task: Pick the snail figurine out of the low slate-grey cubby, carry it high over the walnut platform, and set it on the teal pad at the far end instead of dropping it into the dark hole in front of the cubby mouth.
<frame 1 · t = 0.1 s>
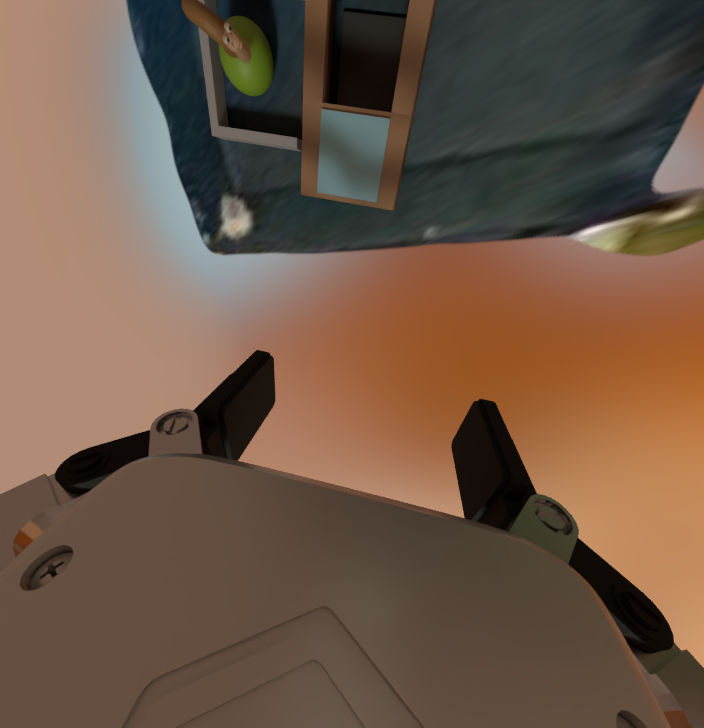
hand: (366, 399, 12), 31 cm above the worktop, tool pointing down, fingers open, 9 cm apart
snail figurine: (264, 73, 29), on the worktop
hole platform: (370, 74, 28), on the worktop
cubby: (263, 72, 29), on the worktop
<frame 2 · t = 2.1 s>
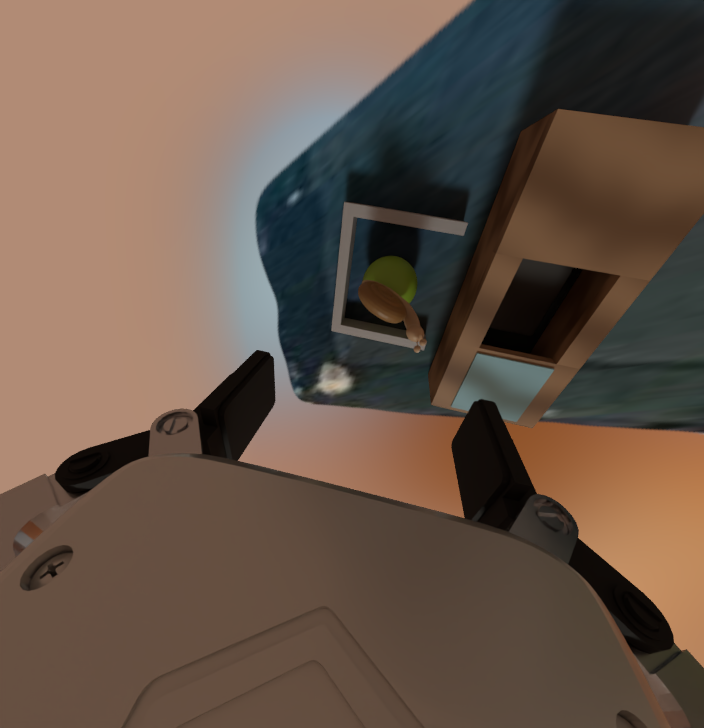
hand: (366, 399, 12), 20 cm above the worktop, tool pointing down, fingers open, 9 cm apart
snail figurine: (394, 280, 28), on the worktop
hole platform: (516, 293, 26), on the worktop
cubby: (394, 280, 28), on the worktop
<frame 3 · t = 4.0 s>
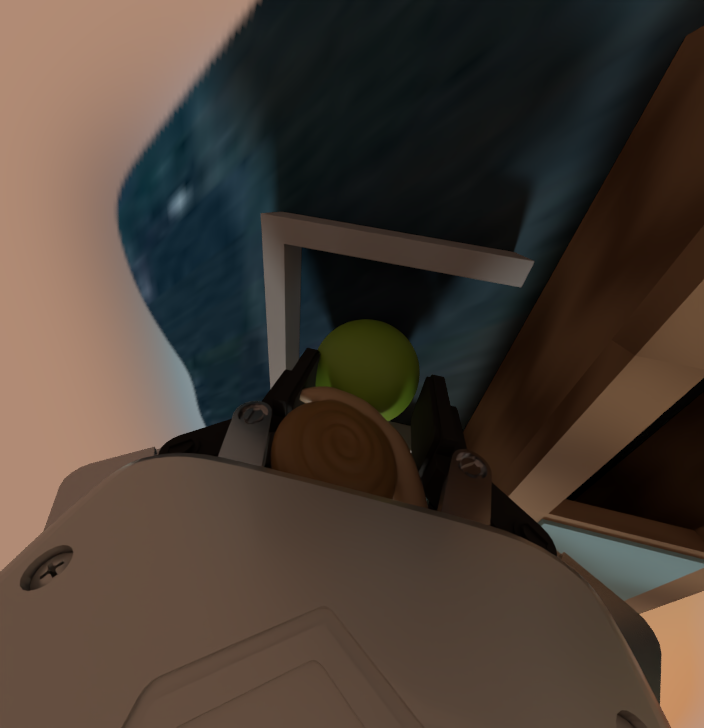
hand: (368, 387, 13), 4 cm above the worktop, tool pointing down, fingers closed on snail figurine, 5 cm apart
snail figurine: (378, 349, 16), on the worktop, touching gripper
hole platform: (604, 382, 14), on the worktop
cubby: (378, 351, 15), on the worktop
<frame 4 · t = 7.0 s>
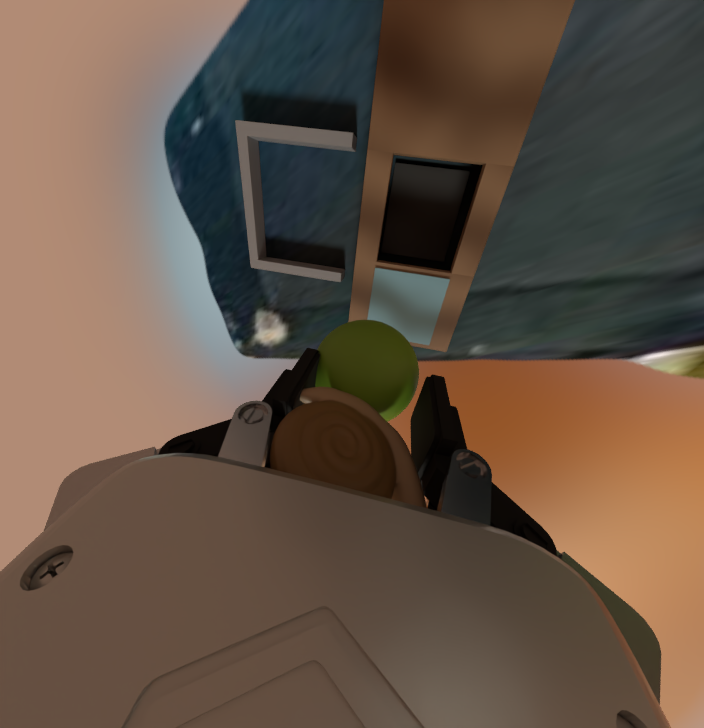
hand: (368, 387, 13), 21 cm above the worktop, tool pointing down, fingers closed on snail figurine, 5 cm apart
snail figurine: (377, 350, 16), point 18 cm above the worktop, touching gripper
hole platform: (421, 215, 26), on the worktop
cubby: (305, 210, 28), on the worktop
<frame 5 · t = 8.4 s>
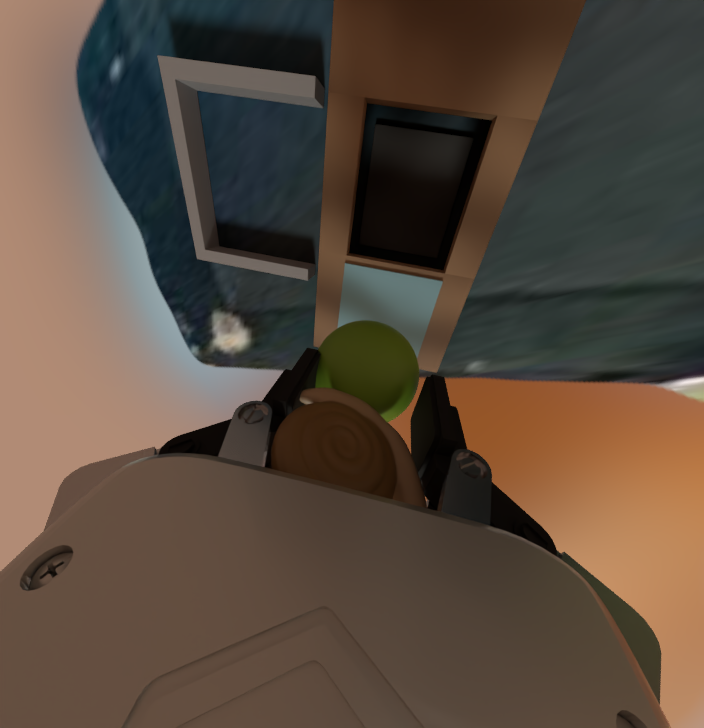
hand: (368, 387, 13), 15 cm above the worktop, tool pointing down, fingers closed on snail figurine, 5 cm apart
snail figurine: (378, 350, 16), point 11 cm above the worktop, touching gripper
hole platform: (409, 197, 20), on the worktop
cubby: (263, 188, 22), on the worktop
when the fingers open (11 cm above the worktop, at t = 9.9 s): snail figurine drops 1 cm, resting on hole platform.
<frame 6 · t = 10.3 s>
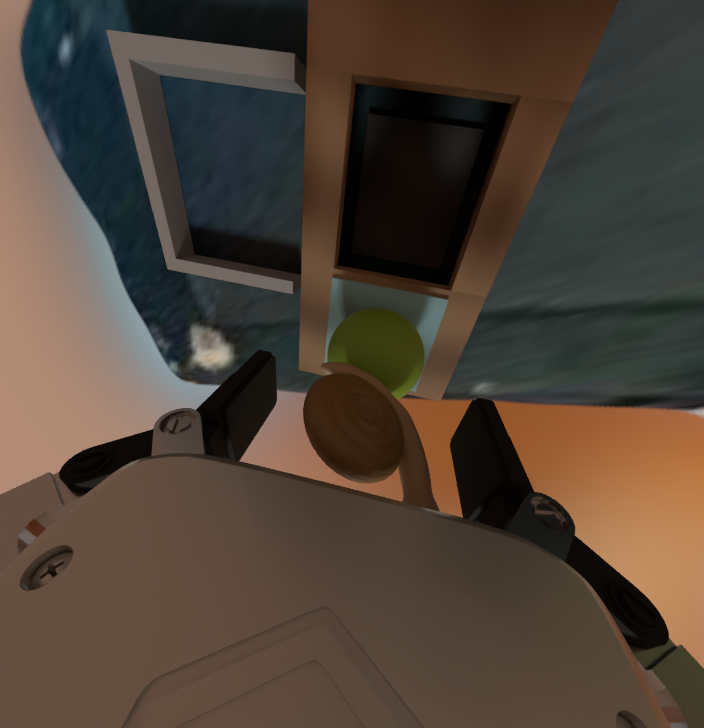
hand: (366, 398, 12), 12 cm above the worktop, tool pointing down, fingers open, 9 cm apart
snail figurine: (385, 338, 17), point 6 cm above the worktop, touching hole platform
hole platform: (408, 200, 18), on the worktop
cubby: (240, 188, 19), on the worktop
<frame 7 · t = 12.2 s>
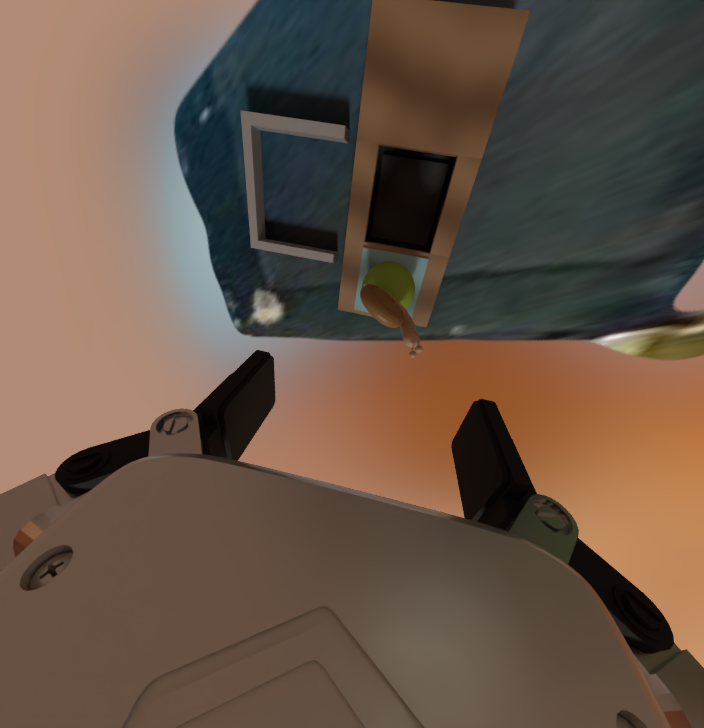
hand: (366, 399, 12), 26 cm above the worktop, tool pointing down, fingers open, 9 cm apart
snail figurine: (392, 285, 29), point 6 cm above the worktop, touching hole platform
hole platform: (406, 203, 29), on the worktop
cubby: (302, 196, 31), on the worktop
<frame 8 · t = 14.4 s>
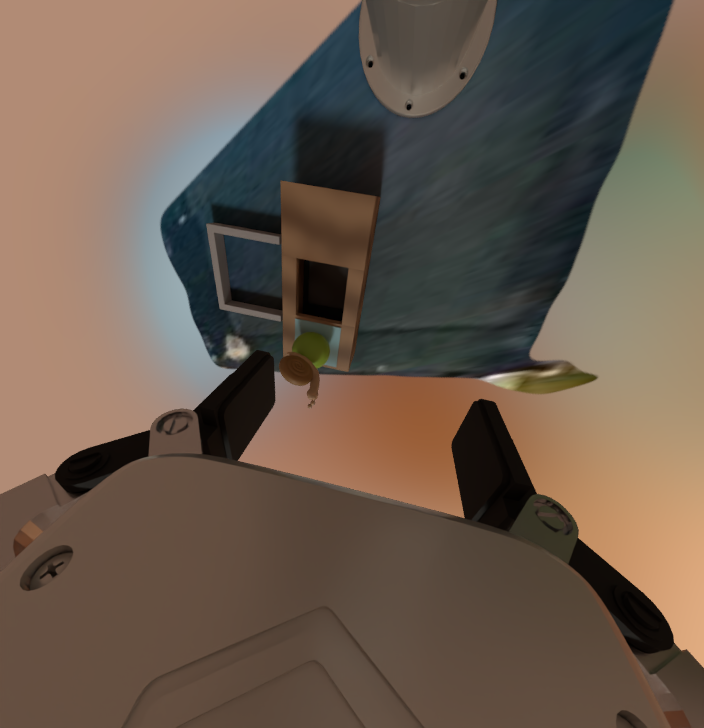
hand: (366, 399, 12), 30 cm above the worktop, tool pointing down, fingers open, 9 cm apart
snail figurine: (319, 343, 39), point 6 cm above the worktop, touching hole platform
hole platform: (331, 282, 40), on the worktop
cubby: (256, 273, 41), on the worktop
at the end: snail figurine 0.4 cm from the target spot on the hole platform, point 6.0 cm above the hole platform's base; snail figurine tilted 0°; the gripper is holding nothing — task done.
